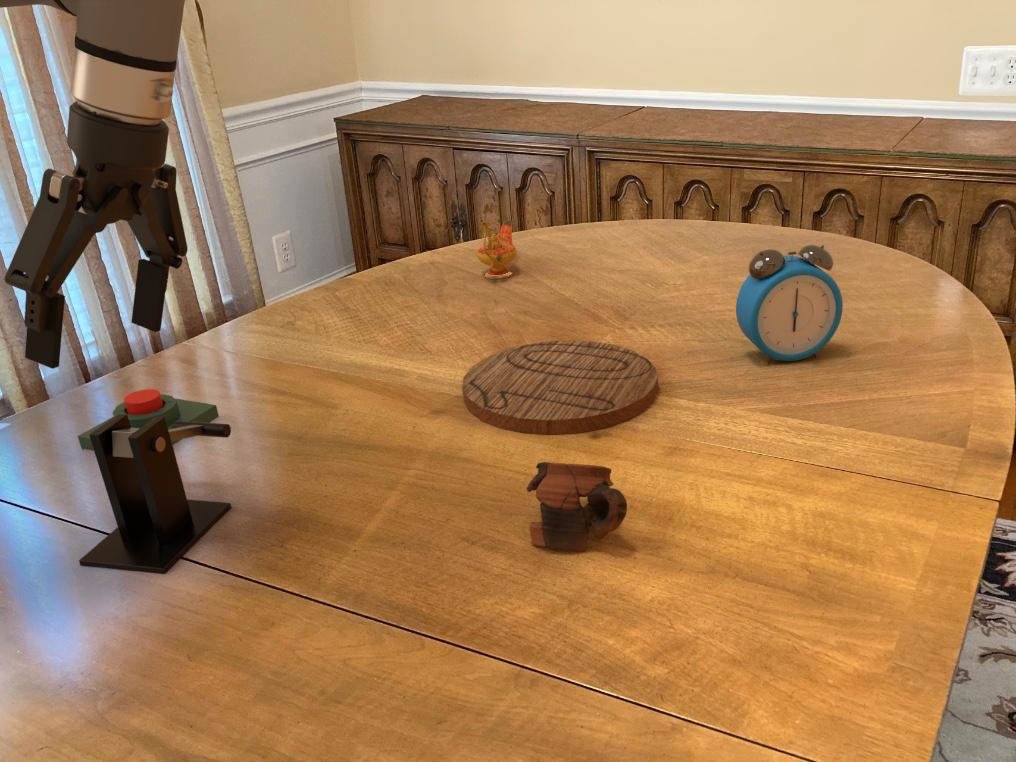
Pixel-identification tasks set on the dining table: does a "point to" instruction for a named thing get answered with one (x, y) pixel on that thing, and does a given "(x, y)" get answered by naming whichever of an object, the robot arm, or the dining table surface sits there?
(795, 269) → the alarm clock
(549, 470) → the pottery mug
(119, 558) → the bracket
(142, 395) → the button
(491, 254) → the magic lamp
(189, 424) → the lever
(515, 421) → the trivet
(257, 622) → the dining table surface
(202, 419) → the button block
